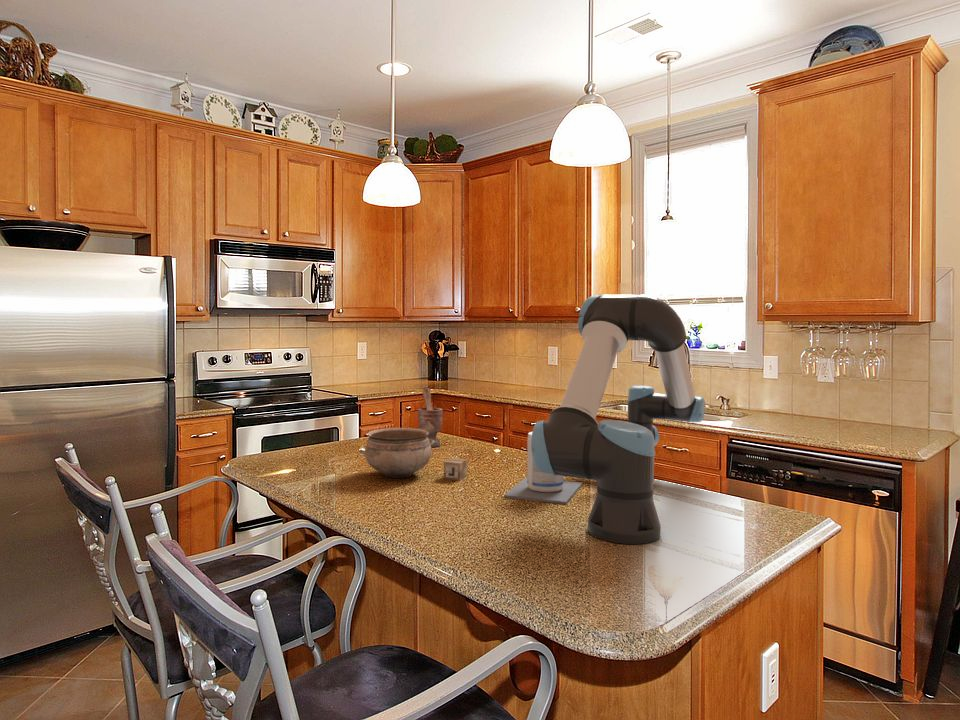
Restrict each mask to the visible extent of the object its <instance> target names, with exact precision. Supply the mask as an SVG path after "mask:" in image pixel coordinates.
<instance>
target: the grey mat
mask: <svg viewBox="0 0 960 720" xmlns="http://www.w3.org/2000/svg"><path fill="white" fill-rule="evenodd" d="M582 486H583V482H576V481H568V480H567V481H566V480H564V483H563V488H562V489H561V490H559V491H556V492H538V491H533V490H531V489H529V488H528V486H527V476H526V477H524V478H523V479H522V480H521V481H519V482H518V483H517V484H516V485H514V486H512V488H511V489H510V490H509V491H507V492H506V493H505V494H503V498H507V499H517V500H525V501H533V502H540V503H541V502H542V503H550V504H560V505H568V503H569V502H570V501H571V499H572V498H573V497H574V496H575V494H577V492H578V491H579V490H580V488H581V487H582Z"/></svg>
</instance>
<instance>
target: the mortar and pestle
mask: <svg viewBox="0 0 960 720" xmlns="http://www.w3.org/2000/svg"><path fill="white" fill-rule="evenodd" d="M422 396H423V400H424V404H425V407H419V408H417V416H418V419H417V420H418V421H417V422H418V429H421V430H425V431H428V432H429V435H428V436H427V437H428V440H434V442H435V443H434V444H433V446H431V448H436V447H440V446H441V442H440V439H438V438H437V436H438V433H440V431H441V429H442V425H443V408H439V407H433V405H432V393H431V389H430V388H429V387H424V388H423V389H422Z"/></svg>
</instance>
